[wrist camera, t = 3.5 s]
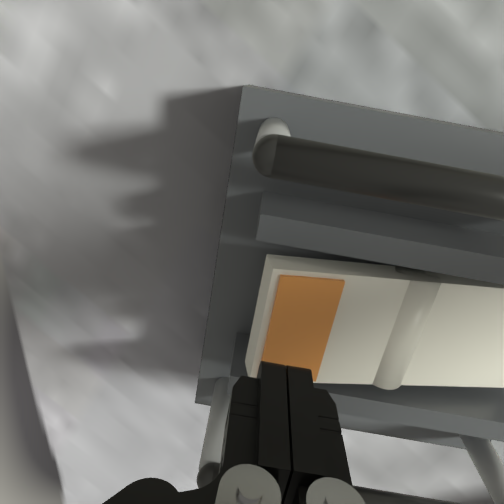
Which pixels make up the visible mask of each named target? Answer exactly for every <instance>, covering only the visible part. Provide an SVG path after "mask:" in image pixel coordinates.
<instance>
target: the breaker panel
mask: <svg viewBox="0 0 504 504" xmlns="http://www.w3.org/2000/svg"><path fill="white" fill-rule="evenodd" d="M267 254H272V255H283V256H293V257H304V258H315V259H325V260H336V261H347V262H357V263H368V264H379V265H389V266H396V265H397V266H402V267H408V268H414V269H419V270H425V271H430V272H436V273H441V274H447V275H452V276H458V277H464V278H469V279H475V280H480V281H486V282H491V283H497V284H503V285H504V133H503V132H498V131H493V130H487V129H482V128H477V127H471V126H466V125H461V124H455V123H450V122H445V121H439V120H434V119H429V118H423V117H418V116H413V115H407V114H402V113H397V112H391V111H386V110H381V109H375V108H370V107H365V106H359V105H354V104H349V103H343V102H338V101H333V100H327V99H322V98H317V97H311V96H306V95H301V94H295V93H290V92H285V91H279V90H274V89H269V88H263V87H258V86H253V85H245V86H243V89H242V95H241V102H240V108H239V115H238V122H237V128H236V135H235V141H234V148H233V155H232V161H231V168H230V174H229V181H228V188H227V194H226V201H225V207H224V214H223V221H222V227H221V234H220V240H219V247H218V254H217V260H216V267H215V273H214V280H213V286H212V293H211V300H210V306H209V313H208V319H207V326H206V333H205V339H204V346H203V352H202V359H201V366H200V372H199V379H198V385H197V392H196V399H195V403H198V404H204V405H209V406H211V408H210V413H209V418H208V423H207V428H206V434H205V439H204V444H203V449H202V454H201V459H200V464H199V472H198V475H197V485H198V488H202V487H204V486H206V485H208V484H209V483H211V482H212V481H213V480H214V479H215V478H216V477H217V476H218V474H219V467H220V460H221V452H222V445H223V437H224V430H225V423H226V418H227V413H228V408H229V403H230V398H231V393H232V388H233V386H234V384H235V383H236V382H237V381H238V379H239V378H240V377H241V376H247V377H248V374H247V369H246V365H245V358H246V353H247V348H248V343H249V338H250V333H251V328H252V324H253V319H254V314H255V309H256V304H257V299H258V294H259V289H260V284H261V279H262V275H263V270H264V265H265V260H266V255H267ZM313 385H314V388H319V389H325V390H327V391H328V393H329V394H330V396H331V397H332V399H333V400H334V402H335V403H336V407H337V412H338V417H339V422H340V427H341V428H344V429H350V430H356V431H362V432H368V433H373V434H379V435H385V436H391V437H397V438H403V439H409V440H414V441H420V442H426V443H432V444H438V445H444V446H450V447H455V448H461V449H466V450H467V451H468V453H469V455H470V457H471V459H472V461H473V463H474V465H475V467H476V469H477V471H478V473H479V475H480V476H481V478H482V480H483V482H484V484H485V486H486V488H487V490H488V492H489V494H490V496H491V498H492V500H493V501H494V503H495V504H504V464H503V462H502V461H501V459H500V457H499V455H498V454H497V452H496V450H495V449H494V447H493V445H492V444H491V440H497V441H502V442H504V388H496V387H457V386H417V385H400V387H399V388H397V389H394V390H386V389H382V388H379V387H376V386H374V385H372V384H337V383H313ZM352 486H353V485H352ZM353 488H354V489H355V490H356V491H357V492H358V493H359V494H360V495H361V497H362V498H363V500H364V502H365V504H460V503H454V502H448V501H442V500H436V499H430V498H424V497H418V496H412V495H406V494H400V493H394V492H388V491H382V490H376V489H370V488H364V487H358V486H353Z"/></svg>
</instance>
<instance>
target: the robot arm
mask: <svg viewBox="0 0 504 504" xmlns="http://www.w3.org/2000/svg"><path fill="white" fill-rule="evenodd" d="M103 504H365V502H364V500H363V498H362V497H361V495H360V494H359V493H358V492H357V491H356V490H355V489H354V488H353V486H352V482H351V477H350V472H349V467H348V462H347V457H346V452H345V447H344V442H343V437H342V435H341V427H340V422H339V417H338V412H337V407H336V403H335V402H334V400H333V399H332V397H331V396H330V394H329V393H328V391H327V390H325V389H319V388H314V385H313V378H312V371H311V369H307V368H301V367H295V366H289V365H286V366H285V365H283V364H277V363H271V362H265V361H261V362H260V365H259V369H258V374H257V378H253V377H247V376H241V377H240V378H239V379H238V381H237V382H236V383H235V384H234V386H233V388H232V393H231V398H230V403H229V408H228V413H227V418H226V423H225V430H224V437H223V445H222V452H221V460H220V467H219V474H218V476H217V477H216V478H215V479H214V480H213V481H212V482H211V483H209V484H208V485H206V486H204V487H202V488H199V489H195V490H190V491H184V492H178V491H177V490H176V488H175V487H174V486H172V485H171V484H170V483H168V482H167V481H164V480H162V479H158V478H144V479H140V480H137V481H135V482H133V483H131V484H129V485H128V486H126V487H125V488H124V489H122V490H121V491H120V492H118V493H117V494H115V495H114V496H113V497H111V498H110V499H108V500H107V501H106V502H104V503H103Z"/></svg>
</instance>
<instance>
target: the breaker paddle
mask: <svg viewBox="0 0 504 504" xmlns="http://www.w3.org/2000/svg"><path fill="white" fill-rule="evenodd" d="M261 361H265V362H271V363H277V364H283V365H285V366H286V365H289V366H295V367H301V368H307V369H311V371H312V378H313V383H337V384H372V385H374V386H376V387H379V388H382V389H386V390H394V389H397V388H399V387H400V385H417V386H457V387H496V388H504V285H503V284H497V283H491V282H486V281H480V280H475V279H469V278H464V277H458V276H452V275H447V274H441V273H436V272H430V271H425V270H419V269H414V268H408V267H402V266H397V265H396V266H389V265H379V264H368V263H357V262H347V261H336V260H325V259H315V258H304V257H293V256H283V255H272V254H267V255H266V260H265V265H264V270H263V275H262V279H261V284H260V289H259V294H258V299H257V304H256V309H255V314H254V319H253V324H252V328H251V333H250V338H249V343H248V348H247V353H246V358H245V365H246V369H247V374H248V377H253V378H257V374H258V369H259V365H260V362H261Z"/></svg>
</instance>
